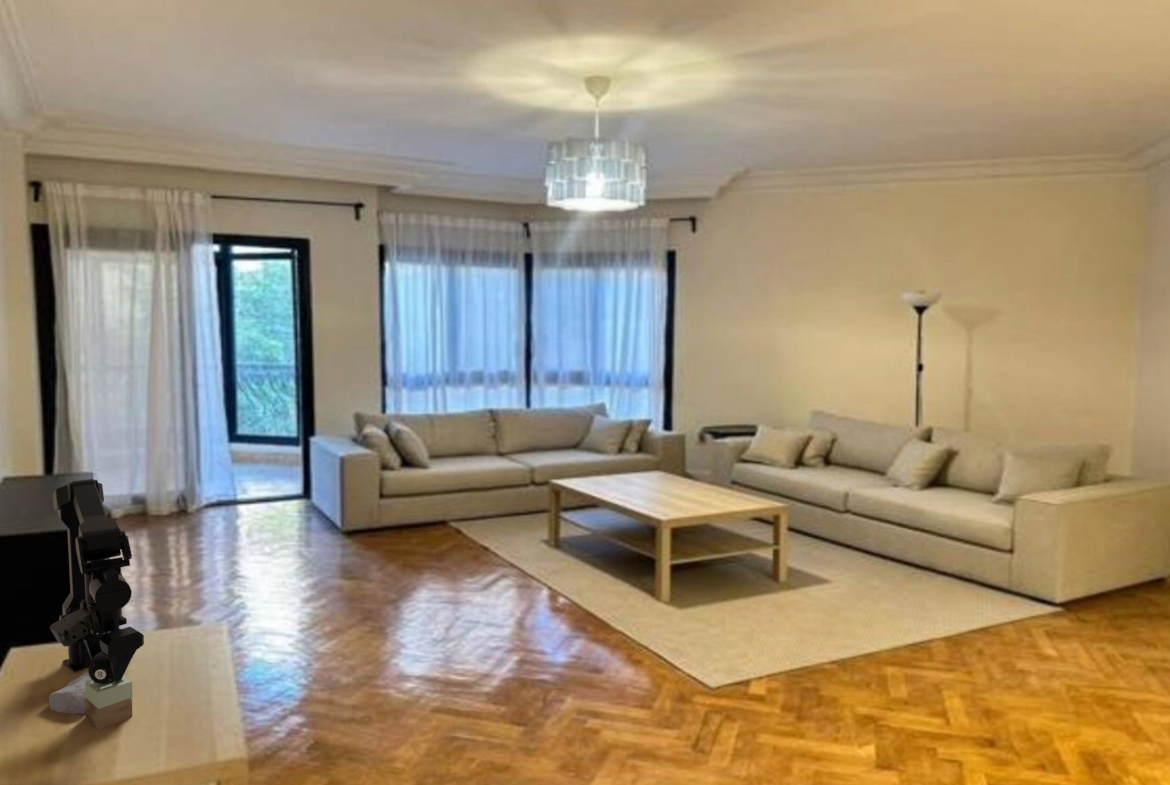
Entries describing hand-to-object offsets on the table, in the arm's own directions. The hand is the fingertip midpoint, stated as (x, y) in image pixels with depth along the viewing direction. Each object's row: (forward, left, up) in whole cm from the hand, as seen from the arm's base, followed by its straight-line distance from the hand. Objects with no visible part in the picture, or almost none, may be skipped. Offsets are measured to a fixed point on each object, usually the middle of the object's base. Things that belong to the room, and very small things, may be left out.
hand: (107, 672), depth 156 cm
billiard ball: (0, 0, -2) cm, 2 cm away
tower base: (0, 0, -9) cm, 9 cm away
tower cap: (0, 0, -5) cm, 5 cm away
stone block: (-11, 0, -10) cm, 15 cm away
